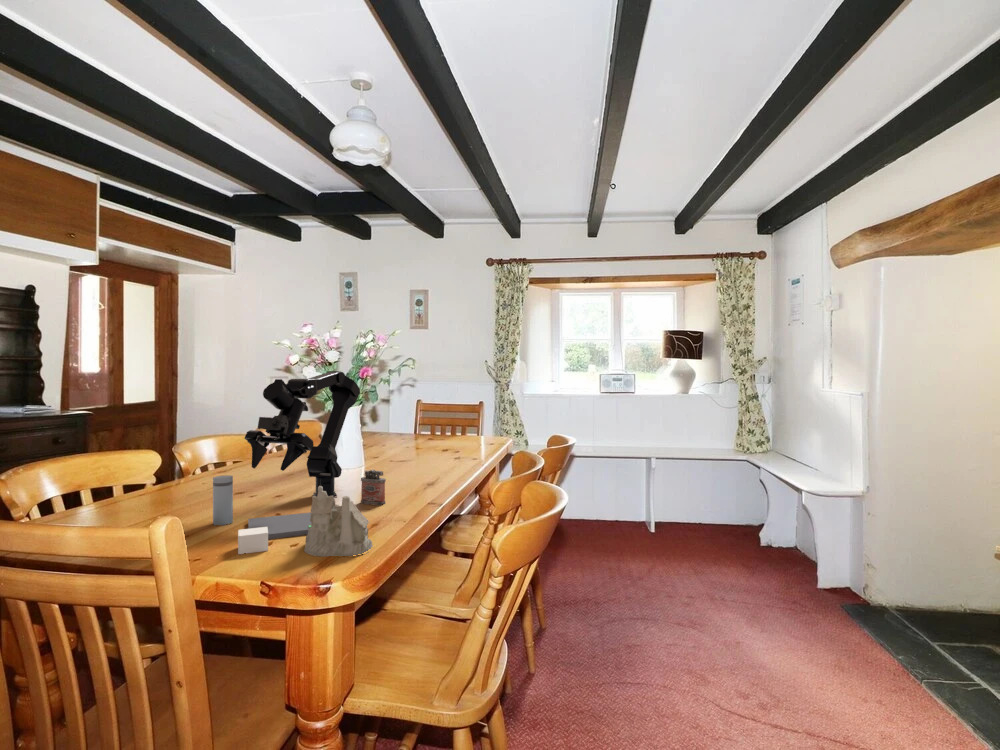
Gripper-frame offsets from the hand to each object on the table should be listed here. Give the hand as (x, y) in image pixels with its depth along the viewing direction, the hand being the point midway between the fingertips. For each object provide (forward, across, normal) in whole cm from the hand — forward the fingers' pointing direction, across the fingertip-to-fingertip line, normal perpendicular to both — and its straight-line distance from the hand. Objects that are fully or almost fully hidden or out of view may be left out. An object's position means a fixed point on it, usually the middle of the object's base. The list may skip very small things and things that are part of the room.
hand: (267, 469), depth 144 cm
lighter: (-2, +19, +27) cm, 33 cm away
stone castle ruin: (+18, +31, -3) cm, 36 cm away
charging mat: (+17, +12, -1) cm, 20 cm away
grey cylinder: (+15, -8, +2) cm, 17 cm away
